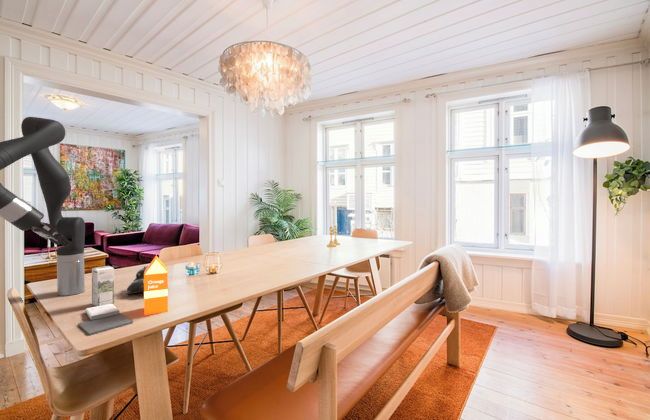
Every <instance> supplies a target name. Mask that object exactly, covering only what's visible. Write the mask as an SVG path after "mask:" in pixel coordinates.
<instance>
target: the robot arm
mask: <svg viewBox="0 0 650 420" xmlns="http://www.w3.org/2000/svg"><path fill="white" fill-rule="evenodd" d="M20 127H21V129H20V130H21V134H22V136H20V137H16V138H12V139H8V140H7V139H6V140H3V141H0V171H2V170H3V169H5V168H7V167H9V166H10V165H12V164H14V163H15V162H17V161H19V160H21V159H23V158H25V157H27V156H31V158H32V162H33V165H34V167H35V171H36V174H37V179H38V183H39V186H40V190H41V192H42V195H43V199H44V202H45V206H46V212H47V217H48V222H42V221H41V220H42V219H43V218H44V217H45V215H44V213H43V212H41V211H40V210H39V209H37V208H36V207H34V206H33V205H32V204H31V203H29V202H27V201H26V200H24V199H23V198H21V197H19V196H18V195H16V194H15V193H13V192H12V191H10V190H9V189H8V188H6V187H5V186H4V185H3V184H2V183H1V182H0V217H1V218H2V219H3V220H5V221H7V222H8V223H9V224H11V225H13V226H14V227H16V228H17V229H18V230H20V231H22V232H25V231H28V230H31V231H32V232H34V233H35V234H37V235H39V237H41V238H44V239H45V240H48V241H50V242H52V243H53V244H54V245H56V246H59V247H58V248H56V276H57V277H56V278H57V279H56V285H57V286H56V287H57V295H58V296H62V297H63V296H73V295H78V294H81V293H83V292H85V291H86V287H85V286H86V285H85V280H86V277H85V274H86V273H85V245H86V244H85V242H86V240H85V239H86V238H85V237H86V223H85V220H84V218H83V217H80V216H64V217H63V215H62V208H63V205H64V204H65V202H66V200H67V199H68V198H69V196H70V194H71V192H72V185H71V180H70V177H69V173H68V171H67V170H66V169H65V168H64V167H63V165H61V163H60V162H59V161H58V160H57V159H56V157H55V156H54V155H53V154H52V153H51V150H50V148H49V147H52V146H55V145H58V144H60V143H61V142H63V141H64V139H65V137H66V129H65V126H64V125H63V124H62V122H59V121H57V120H55V119H51V118H43V117H37V116H36V117H35V116H27V117H25V118H23V119H22V122H21V124H20ZM69 239H71V240H69ZM60 245H61V246H60Z"/></svg>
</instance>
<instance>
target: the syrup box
mask: <svg viewBox="0 0 650 420" xmlns="http://www.w3.org/2000/svg"><path fill="white" fill-rule="evenodd" d="M114 303H115V268H114V267H113V266H110V265H105V266H99V267H92V268H91V304H92V305H93V306H94V307H96V306H101V305H106V304H113V305H114Z"/></svg>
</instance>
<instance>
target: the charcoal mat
mask: <svg viewBox="0 0 650 420" xmlns="http://www.w3.org/2000/svg"><path fill="white" fill-rule="evenodd" d="M133 323H134V320H131V319H130V318H129V317H127V316H125V315H124V314H122V313H121V312H120V314H118V315H114V316H110V317H105V318H101V319H97V320H91V319H89V320H85V321H82V322H78V323H77V326H78V327H80V328H81V329H82V330H83V331H84V332H85V333H86V334H87V335H88V336H92V335H95V334H96V335H97V334H99V333H102V332H107V331H109V330H114V329H116V328H121V327H124V326H127V325H131V324H133Z"/></svg>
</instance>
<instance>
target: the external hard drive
mask: <svg viewBox="0 0 650 420" xmlns="http://www.w3.org/2000/svg"><path fill="white" fill-rule="evenodd" d="M85 313H86V314H87V317H88V318H89V320H97V319H101V318H105V317H110V316H114V315H118V314H120V313H121V312H120V309H119V308H118V307H116V306H115V305H114V303H113V304H106V305H101V306H93V307H87V308H85Z"/></svg>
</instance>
